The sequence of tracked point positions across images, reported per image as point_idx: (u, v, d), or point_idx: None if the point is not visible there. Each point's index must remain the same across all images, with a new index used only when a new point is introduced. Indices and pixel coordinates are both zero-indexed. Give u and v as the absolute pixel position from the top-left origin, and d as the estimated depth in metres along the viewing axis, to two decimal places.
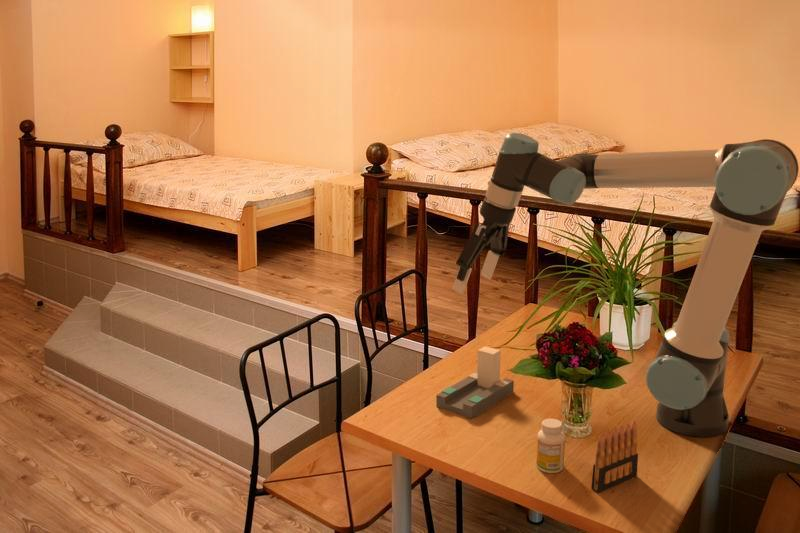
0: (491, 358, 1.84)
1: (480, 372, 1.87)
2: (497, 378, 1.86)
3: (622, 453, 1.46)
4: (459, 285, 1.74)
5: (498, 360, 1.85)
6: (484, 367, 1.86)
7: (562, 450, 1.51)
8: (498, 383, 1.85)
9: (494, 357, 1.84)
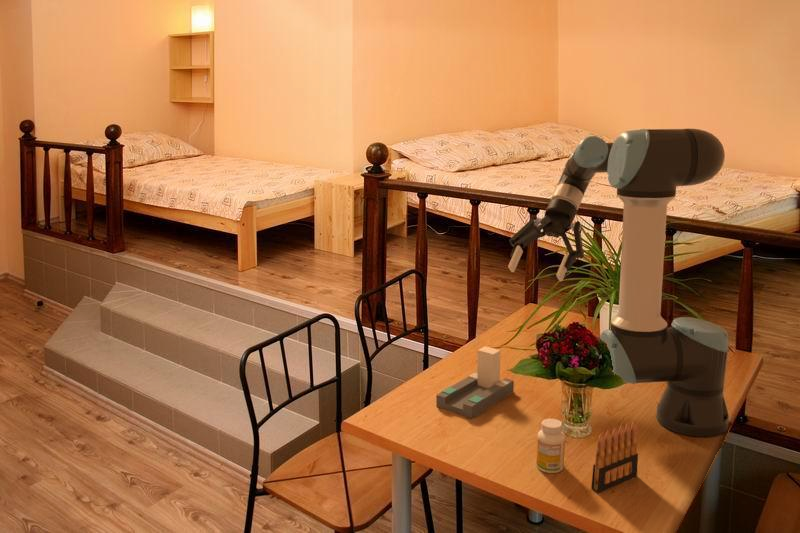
0: (491, 358, 1.84)
1: (480, 372, 1.87)
2: (497, 378, 1.86)
3: (622, 453, 1.46)
4: None
5: (498, 360, 1.85)
6: (484, 367, 1.86)
7: (562, 450, 1.51)
8: (498, 383, 1.85)
9: (494, 357, 1.84)
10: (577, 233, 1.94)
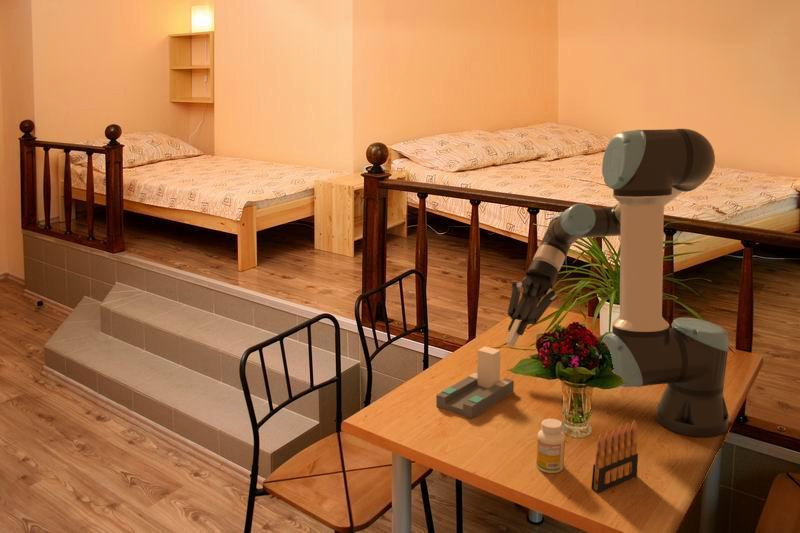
0: (491, 358, 1.84)
1: (480, 372, 1.87)
2: (497, 378, 1.86)
3: (622, 453, 1.46)
4: None
5: (498, 360, 1.85)
6: (484, 367, 1.86)
7: (562, 450, 1.51)
8: (498, 383, 1.85)
9: (494, 357, 1.84)
10: (544, 301, 1.95)
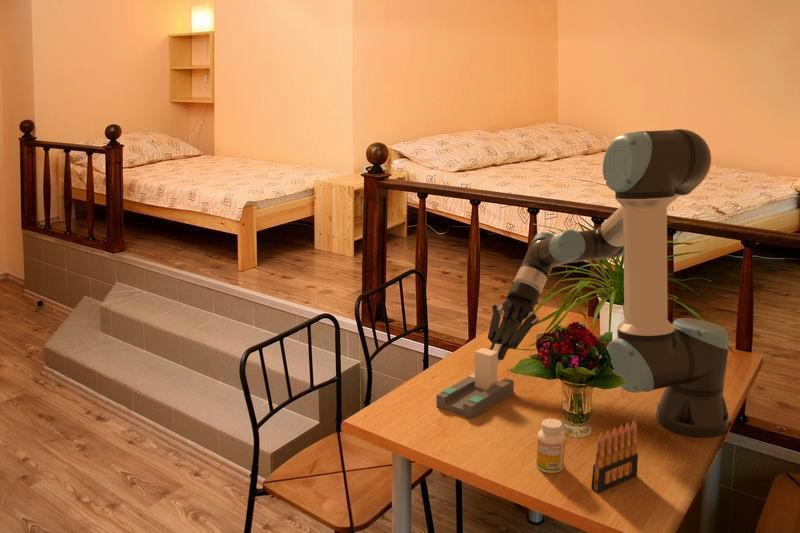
0: (488, 360, 1.83)
1: (477, 374, 1.86)
2: (494, 380, 1.85)
3: (622, 453, 1.46)
4: None
5: (495, 362, 1.85)
6: (481, 368, 1.85)
7: (562, 450, 1.51)
8: (498, 383, 1.85)
9: (491, 359, 1.83)
10: (524, 325, 1.89)
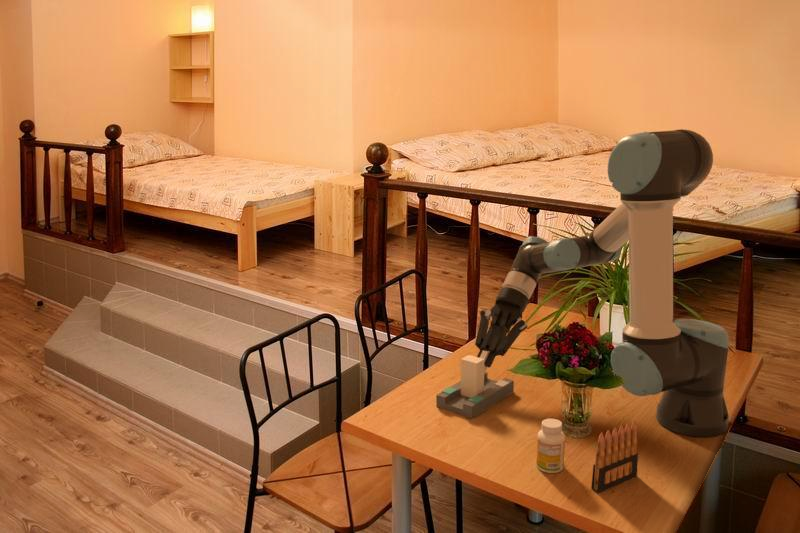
0: (474, 367, 1.78)
1: (463, 382, 1.81)
2: (480, 388, 1.81)
3: (622, 453, 1.46)
4: None
5: (482, 369, 1.80)
6: (467, 376, 1.80)
7: (562, 450, 1.51)
8: (498, 383, 1.85)
9: (478, 366, 1.78)
10: (512, 332, 1.85)
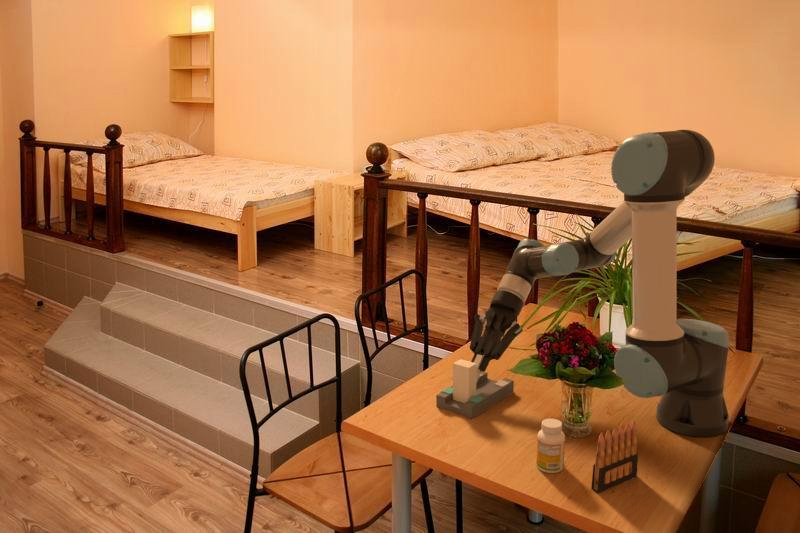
0: (466, 372, 1.76)
1: (455, 386, 1.79)
2: (473, 392, 1.79)
3: (622, 453, 1.46)
4: None
5: (474, 374, 1.78)
6: (459, 381, 1.78)
7: (562, 450, 1.51)
8: (498, 383, 1.85)
9: (470, 371, 1.76)
10: (507, 335, 1.82)
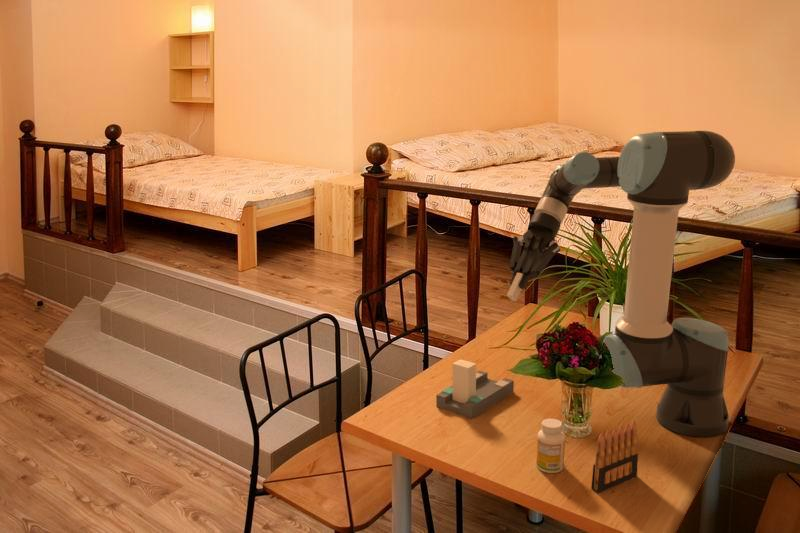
0: (466, 372, 1.76)
1: (455, 386, 1.79)
2: (472, 393, 1.79)
3: (622, 453, 1.46)
4: None
5: (474, 374, 1.78)
6: (459, 381, 1.78)
7: (562, 450, 1.51)
8: (498, 383, 1.85)
9: (469, 371, 1.76)
10: (546, 254, 1.89)
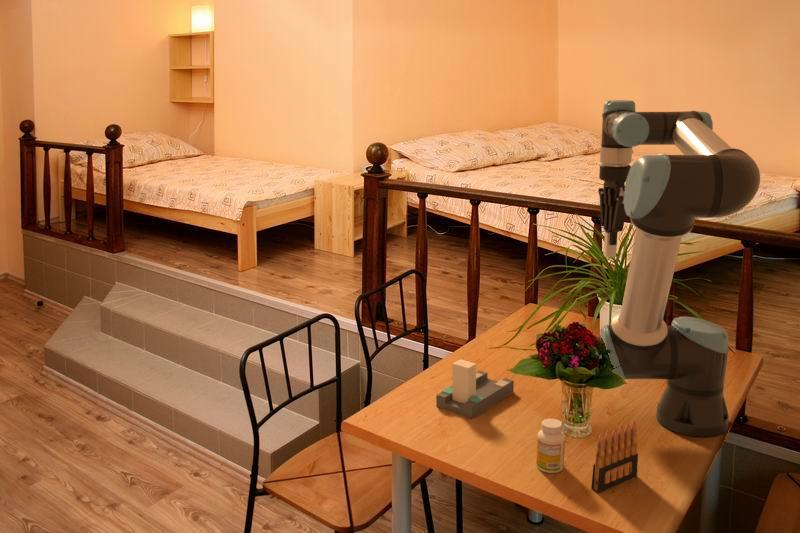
0: (466, 372, 1.76)
1: (455, 386, 1.79)
2: (472, 393, 1.79)
3: (622, 453, 1.46)
4: None
5: (474, 374, 1.78)
6: (459, 381, 1.78)
7: (562, 450, 1.51)
8: (498, 383, 1.85)
9: (469, 371, 1.76)
10: (616, 209, 1.88)
